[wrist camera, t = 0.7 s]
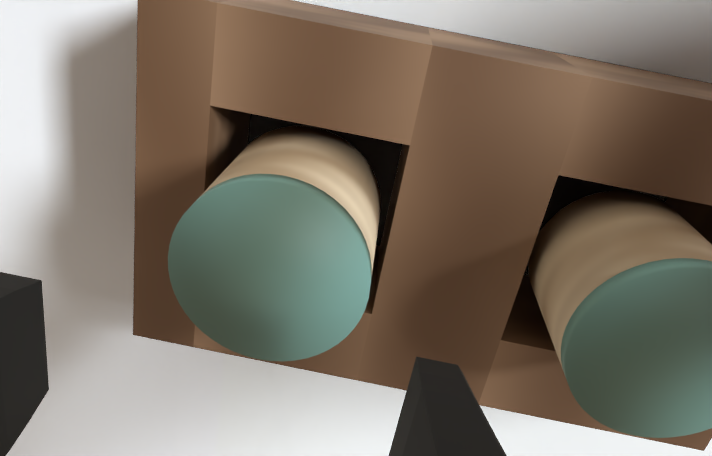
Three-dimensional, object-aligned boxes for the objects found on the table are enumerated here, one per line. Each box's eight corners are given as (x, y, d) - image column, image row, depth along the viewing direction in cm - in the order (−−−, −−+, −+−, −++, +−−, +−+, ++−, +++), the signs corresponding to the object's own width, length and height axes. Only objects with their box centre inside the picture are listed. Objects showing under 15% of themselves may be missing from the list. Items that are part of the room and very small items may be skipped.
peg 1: (395, 143, 14) (389, 205, 10) (365, 282, 16) (351, 377, 12) (234, 111, 14) (172, 160, 10) (222, 253, 16) (164, 339, 12)
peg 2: (719, 207, 14) (828, 292, 10) (654, 341, 16) (727, 454, 12) (557, 175, 14) (608, 248, 10) (509, 311, 16) (538, 416, 12)
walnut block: (779, 97, 16) (891, 135, 12) (649, 359, 19) (703, 450, 16) (201, -18, 16) (137, -14, 12) (185, 266, 19) (132, 334, 16)
